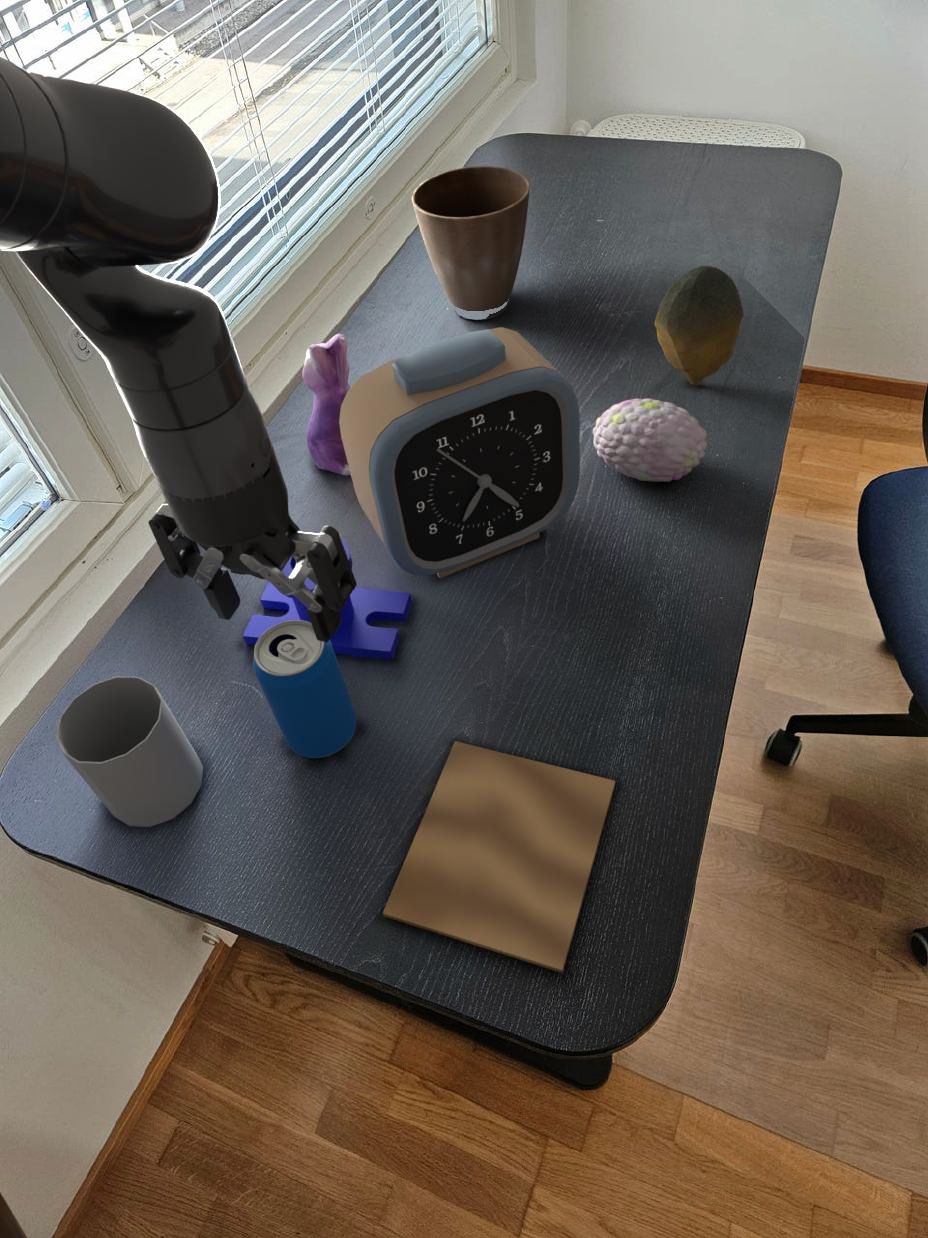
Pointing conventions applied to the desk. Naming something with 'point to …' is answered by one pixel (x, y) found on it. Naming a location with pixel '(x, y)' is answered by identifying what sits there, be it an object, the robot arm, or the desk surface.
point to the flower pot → (474, 232)
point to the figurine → (327, 402)
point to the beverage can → (304, 689)
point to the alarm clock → (462, 449)
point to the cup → (130, 750)
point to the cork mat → (504, 855)
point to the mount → (355, 617)
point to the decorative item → (649, 440)
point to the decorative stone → (699, 322)
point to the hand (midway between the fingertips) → (279, 622)
